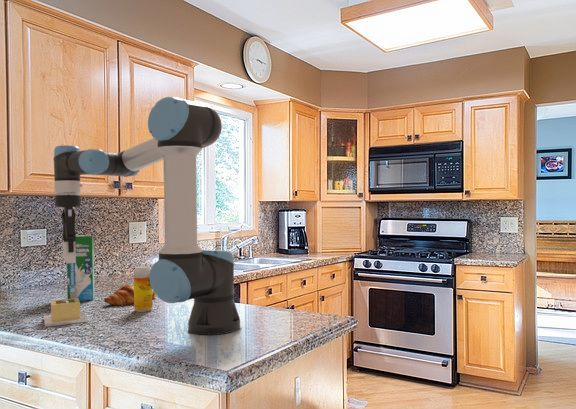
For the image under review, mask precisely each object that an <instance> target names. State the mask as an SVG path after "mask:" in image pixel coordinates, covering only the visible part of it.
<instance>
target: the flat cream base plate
mask: <svg viewBox="0 0 576 409" xmlns="http://www.w3.org/2000/svg"><path fill="white" fill-rule="evenodd" d="M61 303H69V301H62V302H61ZM81 323H82V324H83V323H88V317H87V315H86V313H85V311H80V318H77V319H68V320H59V321H52V318H51V314H48V315H43V324H44V328H46V327H55V326H64V325H65V326H66V325H72V324H73V325H74V324H81Z"/></svg>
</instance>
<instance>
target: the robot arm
mask: <svg viewBox="0 0 576 409" xmlns="http://www.w3.org/2000/svg"><path fill="white" fill-rule="evenodd" d="M222 123H223V122H222V119H221V117H220V115H219V113H218V112H217V111H216V110H215V109H214V108H213V107H211V106H210V105H207V104H203V103H198V102H195V101H191V100H188V99H185V98H182V97H175V96H166V97H163V98H160V99H159V100H158V101H157V102H155V104H154V105H153V106H152V108H151V109H150V112H149V114H148V117H147V128H148V129H147V130H148V132H149V134H151V137H152V138H150V139H147V140H145V141H143V142H140V143H139V144H137V145H134V146H132V147H129V148H127V149H125V150H122V151H120V152H112V151H111V152H109V151H104V150H102V149H99V148H94V149H93V148H88V149H84V150H83V149H82V150H80V148H79V146H77V145H67V144H66V145H57V146H55V147H54V149H53V156H54V157H53V174H54V175H53V176H54V182H53V183H54V194H56V195H55V196H54V206H55V207H56V208H63V210H62V211H61V214H60V217H61V225H62V235H61V237H62V255H63V256H62V260H64V261H65V264H66V265H67V263H76V247H75V240H76V236H77V235H76V211H75V209H74V208H73V207H75V208H77V207H81V205H82V197H81V188H82V187H83V184H81V176H82V175H83V176H84V175H85V176H86V175H87V176H88V175H91V176H92V175H93V176H110V177H111V176H112V177H113V176H114V177H123V178H128V177H135V176H136V175H138V173H139V172H140V170H142V169H144V168H147V167H149V166H153V165H155V164H157V163H159V162H162V161H163V210H164V211H163V216H164V217H163V219H164V220H163V222H164V224H163V225H164V226H163V228H164V231H163V232H164V233H163V234H164V245H163V246H162V248H161V249H160V250H158V260H157V261H156V262H155V263H154V264H152V266H151V270H150V284H151V287H152V291H154V293H155V294H157V296H156V297H157V298H158V299H160V301H162V302H164V303H168V304H177V303H184V302H186V301H190V300H192V299H193V305H192V308H191V311H190V315H189V318H188V322H187V328H188V331H189V332H190V333H193V334H195V335H196V334H197V335H209V336H210V335H212V336H213V335H224V334H228V333H232V332H235V331H238V330H239V329H240V328H241V318H240V316H239V312H238V309H237V306H236V303H235V280H234V279H235V276H234V275H235V273H234V271H235V270H234V269H235V268H234V266H235V262H234V254H233V253H232V252H231V251H230V250H221V249H220V250H218V249H217V250H216V249H203V248H201V246H199V245H198V216H197V215H198V209H197V208H198V205H197V204H198V202H197V201H198V198H197V197H198V196H197V194H198V193H197V156H198V155H199V153H200V152H201V151H202V150H203V149H205V148H207V147H209V146H211V145H213V144H214V143H216V141H218V139H219V137H220V136H221V134H222V129H223V126H222Z"/></svg>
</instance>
